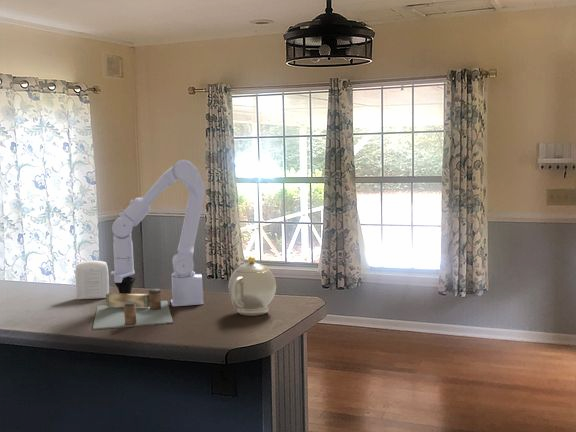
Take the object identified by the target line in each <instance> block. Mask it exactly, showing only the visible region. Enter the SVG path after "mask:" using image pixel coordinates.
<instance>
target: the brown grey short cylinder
mask: <svg viewBox="0 0 576 432" xmlns="http://www.w3.org/2000/svg"><path fill="white" fill-rule="evenodd" d="M148 294H149V298H150V310H159V309H161V301H162V300H161V299H162V298H161V288H150V289H149V290H148Z"/></svg>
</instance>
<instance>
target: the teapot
mask: <svg viewBox="0 0 576 432" xmlns="http://www.w3.org/2000/svg"><path fill="white" fill-rule="evenodd" d="M247 261H248V262H246V263H244V264H240V266H238V267H237V268H235V269H234V270H233V272H232V273H231V275H230V278H229V280H228V294H229V296H230V302H231V303H232V305H233V306H234V307H235V308H236V309H237V313H238V314H240V315H242V316H247V317H258V316H262V315H263V316H264V315H265V314H267V313H268V311H269V306H268V305H270V304H271V302H272V300H274V297H275V295H276V292H277V283H276V278H275V276H274V274H273V272H272V271H271V270H270V268H268V267H267V265H266V264H262V263H259V262H255V261H256V258H255V257H254V256H249V257H248V258H247Z"/></svg>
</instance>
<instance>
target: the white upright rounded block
mask: <svg viewBox="0 0 576 432" xmlns="http://www.w3.org/2000/svg"><path fill="white" fill-rule="evenodd" d="M109 280H110V278H109V268H108V264H107V261H103V260H94V259H92V260H85V261H80V262H79V263H77V264H76V267H75V289H76V291H75V292H76V300H93V299H94V300H95V299H106V294H108V293H110V281H109Z"/></svg>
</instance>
